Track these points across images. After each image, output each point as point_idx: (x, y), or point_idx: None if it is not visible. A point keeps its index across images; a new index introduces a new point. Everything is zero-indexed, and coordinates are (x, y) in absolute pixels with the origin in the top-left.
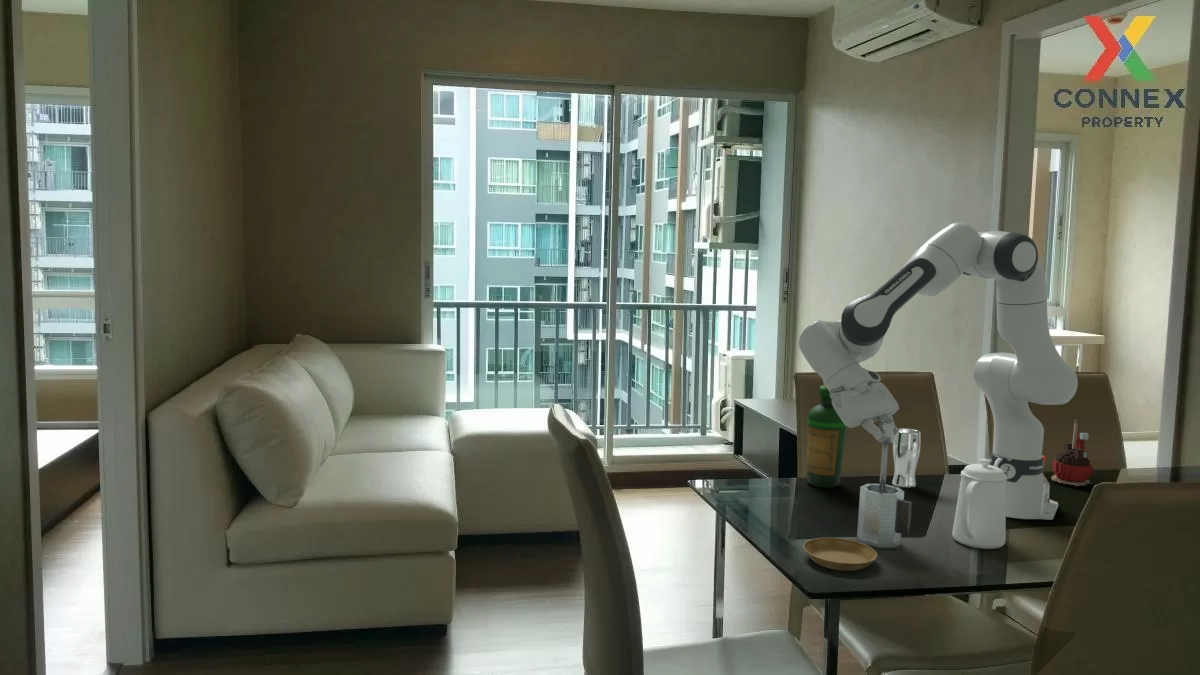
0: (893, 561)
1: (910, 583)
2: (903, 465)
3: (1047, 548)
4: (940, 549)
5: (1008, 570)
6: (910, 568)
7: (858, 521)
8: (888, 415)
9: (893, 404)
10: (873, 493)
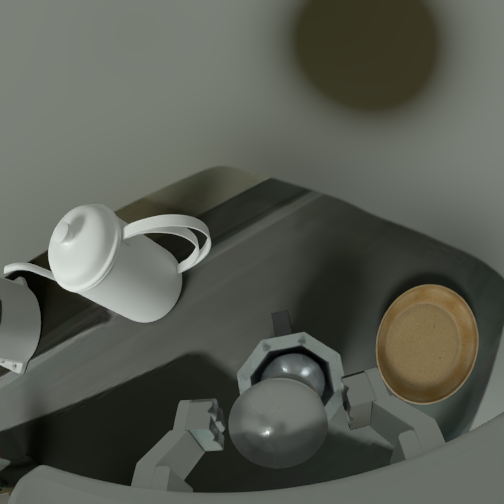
0: (351, 302)
1: (397, 231)
2: (19, 473)
3: None
4: (230, 297)
5: (228, 196)
6: (352, 268)
7: None
8: (159, 481)
9: (50, 494)
10: (343, 374)
